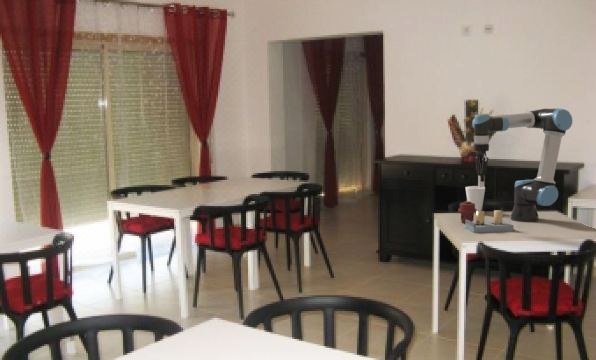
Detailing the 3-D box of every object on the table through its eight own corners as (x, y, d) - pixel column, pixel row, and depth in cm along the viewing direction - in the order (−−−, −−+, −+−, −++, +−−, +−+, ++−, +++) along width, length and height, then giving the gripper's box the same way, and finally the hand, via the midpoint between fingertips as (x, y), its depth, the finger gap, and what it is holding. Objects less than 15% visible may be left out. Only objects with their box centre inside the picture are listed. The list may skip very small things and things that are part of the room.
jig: (503, 226, 346) (504, 208, 344) (513, 230, 334) (513, 212, 332) (465, 228, 343) (465, 210, 342) (473, 232, 332) (473, 214, 330)
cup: (487, 214, 381) (487, 188, 379) (467, 214, 381) (468, 188, 379) (481, 211, 393) (482, 185, 391) (462, 211, 393) (463, 186, 391)
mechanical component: (475, 221, 361) (476, 225, 351) (457, 221, 363) (458, 224, 353) (475, 200, 359) (477, 203, 349) (457, 200, 361) (458, 203, 351)
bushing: (474, 229, 340) (474, 211, 339) (482, 228, 341) (482, 210, 339) (477, 230, 336) (477, 212, 335) (485, 230, 336) (485, 212, 335)
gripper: (470, 142, 338) (469, 186, 341) (479, 144, 325) (479, 189, 328) (483, 142, 339) (483, 185, 342) (493, 144, 326) (493, 188, 329)
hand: (481, 187), depth 335 cm, fingers closed
